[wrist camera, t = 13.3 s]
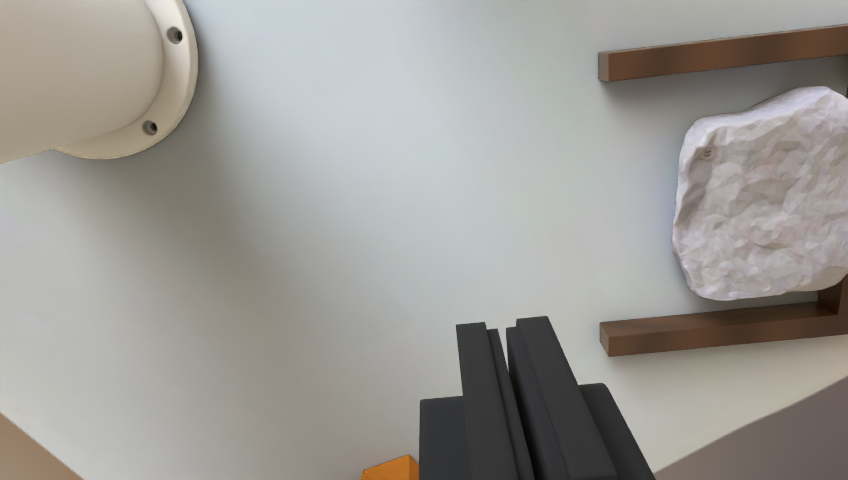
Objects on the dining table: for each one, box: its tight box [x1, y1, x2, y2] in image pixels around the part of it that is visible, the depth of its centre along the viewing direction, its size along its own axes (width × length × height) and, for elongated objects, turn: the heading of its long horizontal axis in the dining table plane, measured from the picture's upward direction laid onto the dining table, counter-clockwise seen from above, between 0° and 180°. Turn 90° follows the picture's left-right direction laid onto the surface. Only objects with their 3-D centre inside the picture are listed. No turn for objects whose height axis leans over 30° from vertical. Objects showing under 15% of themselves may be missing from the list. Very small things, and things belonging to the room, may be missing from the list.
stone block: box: [672, 86, 848, 301], centre depth 34 cm, size 12×5×10 cm
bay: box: [598, 24, 848, 357], centre depth 34 cm, size 16×19×2 cm
